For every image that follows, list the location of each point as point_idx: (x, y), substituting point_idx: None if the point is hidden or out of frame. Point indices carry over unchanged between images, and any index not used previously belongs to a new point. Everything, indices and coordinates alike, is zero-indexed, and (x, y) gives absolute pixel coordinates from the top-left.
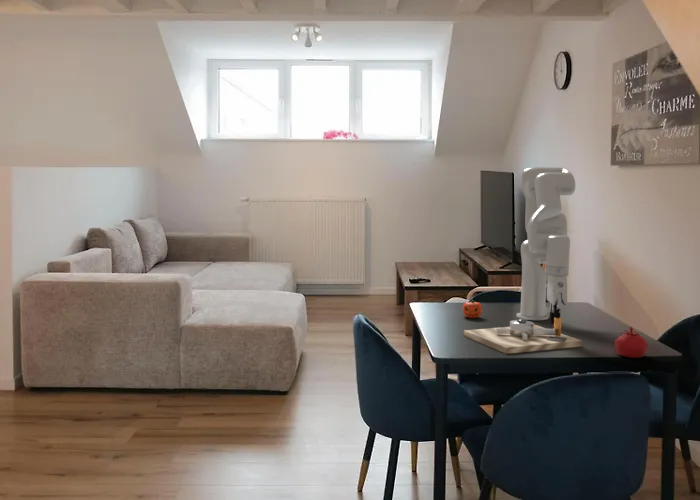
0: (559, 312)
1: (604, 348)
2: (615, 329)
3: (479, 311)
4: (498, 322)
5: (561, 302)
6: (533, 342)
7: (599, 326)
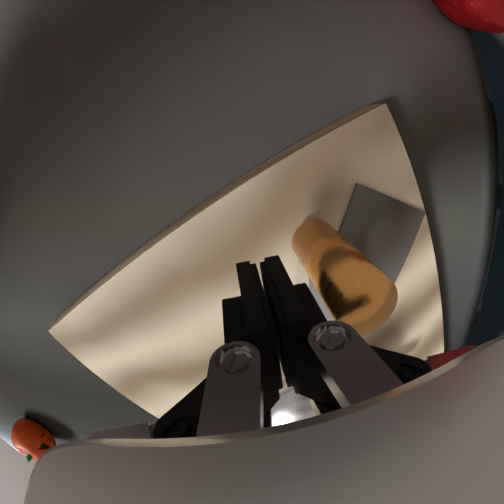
0: (343, 331)
1: (374, 12)
2: None
3: (37, 437)
4: (37, 394)
5: (209, 436)
6: (416, 329)
7: None
